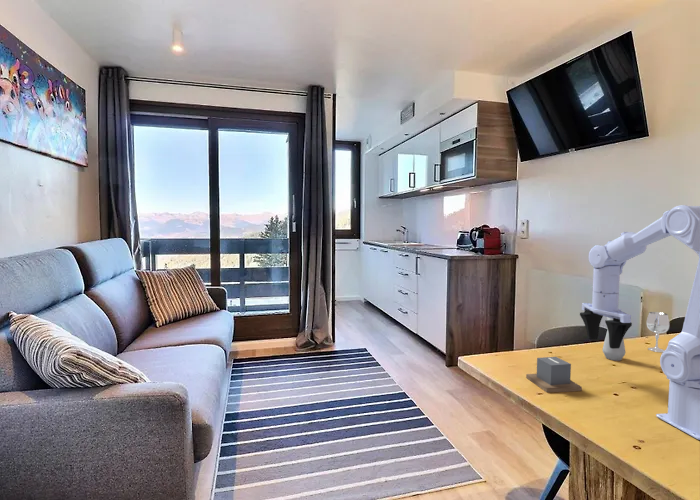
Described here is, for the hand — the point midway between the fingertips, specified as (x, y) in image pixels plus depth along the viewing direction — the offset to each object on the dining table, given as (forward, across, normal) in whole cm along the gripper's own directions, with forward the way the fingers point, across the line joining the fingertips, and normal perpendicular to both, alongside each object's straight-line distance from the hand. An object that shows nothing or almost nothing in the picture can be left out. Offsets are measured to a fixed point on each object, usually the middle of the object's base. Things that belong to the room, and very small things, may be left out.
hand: (603, 343), depth 101 cm
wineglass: (+10, +20, -35) cm, 41 cm away
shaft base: (+9, -2, +15) cm, 18 cm away
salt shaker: (+10, +14, -15) cm, 23 cm away
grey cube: (+8, -2, +15) cm, 17 cm away
